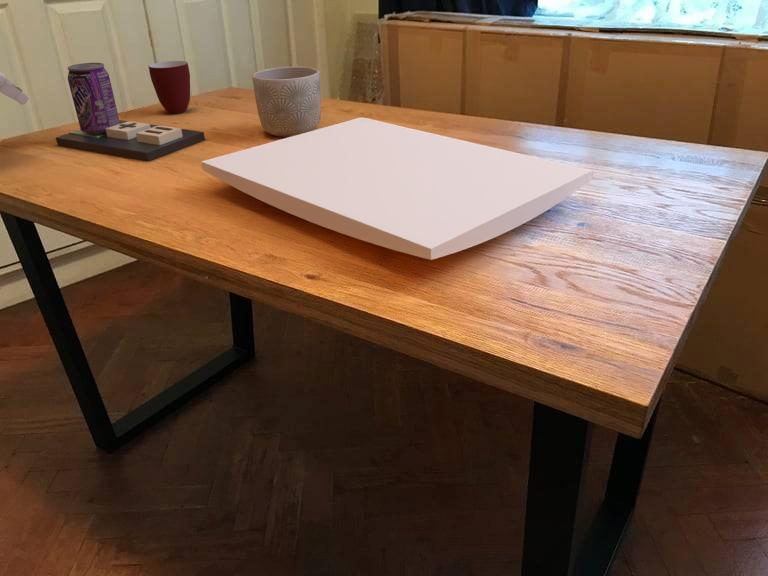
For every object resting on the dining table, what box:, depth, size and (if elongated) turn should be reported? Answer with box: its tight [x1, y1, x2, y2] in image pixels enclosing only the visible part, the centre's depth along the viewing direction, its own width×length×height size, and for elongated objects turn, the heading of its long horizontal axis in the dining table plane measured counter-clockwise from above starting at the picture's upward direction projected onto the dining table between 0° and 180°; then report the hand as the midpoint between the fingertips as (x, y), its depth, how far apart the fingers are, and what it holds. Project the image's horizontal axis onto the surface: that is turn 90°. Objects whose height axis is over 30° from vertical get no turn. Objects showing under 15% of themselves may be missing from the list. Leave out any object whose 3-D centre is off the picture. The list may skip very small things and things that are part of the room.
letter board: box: [55, 119, 206, 162], centre depth 123 cm, size 24×14×3 cm, turn 61°
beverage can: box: [67, 62, 120, 135], centre depth 122 cm, size 7×7×12 cm
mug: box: [148, 60, 191, 115], centre depth 142 cm, size 11×8×10 cm
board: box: [200, 116, 594, 261], centre depth 93 cm, size 45×32×5 cm
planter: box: [251, 66, 322, 138], centre depth 124 cm, size 12×12×11 cm
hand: (23, 97), depth 118 cm, fingers open, 8 cm apart
